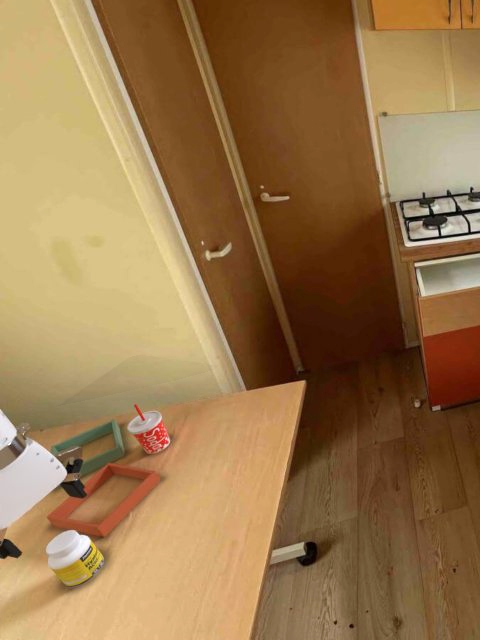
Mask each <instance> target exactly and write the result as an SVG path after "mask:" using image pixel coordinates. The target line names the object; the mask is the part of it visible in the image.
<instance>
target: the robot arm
mask: <svg viewBox="0 0 480 640" xmlns="http://www.w3.org/2000/svg"><path fill="white" fill-rule="evenodd" d="M31 428H32V427H31V425H30V424H29V423H28V422H25V421H24V422H22V423H20V424H19V425H14V424H13V423H12V421H10V420H9V418H8V417H7V416H6V414H5V413H4V412H3V411H2V409H0V559H2V560H6V559H7V558H9V557H10V558H14V559H19V558H20V557H21V556H22V554H23V551H21V550H20V548H18V546H17V545H16V544H14V542H12V541H11V540H10V539H9V538H5V536H6V533H7V530H8V527H10V526H11V525H13V524H14V523H15V522H17V521H18V520H19V519H20V518H21V517H22V516H24V515H25V514H26V513H27V512H29V511H30V510H31V509H32V508H34V507H35V506H36V505H37V504H38V503H39V502H41V501H42V500H43V499H44V498H45V497H47V496H48V495H49V494H50V493H52V492H53V491H54V490H55V489H56V488H57V487H58V485H59V484H60V485H61V486H60V487H61V489H62V490H64V492H65V493H66V494H67V495H68V496H69V497H70V496H71V497H76V498H81V499H83V498H85V497H86V496H87V494H86V492H85V491H84V490H83V489H84V488H85V486H84V484H83V482H82V480H81V479H80V478H81V477H82V476H81V474H80V473H79V472H80V469H81V466H82V464H83V462H84V460H83V454H84V453H83V452H84V447H82V446H79V447H78V446H74V447H71V448H68V449H66V450H63V451H61V452H58V453H55V454H53V455H52V454H51V451H48V450H47V449H46V448H45V447H44V446H43V445H41V444H40V443H38V442H37V441H36V440H34V439H32V438H31V437H27V436H25V434H26V433H27V431H29V430H30V429H31ZM66 460H68V461H67V462H66V466H65V465H63V463H62V462H63V461H66ZM60 462H61V463H60ZM80 476H81V477H80Z"/></svg>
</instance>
